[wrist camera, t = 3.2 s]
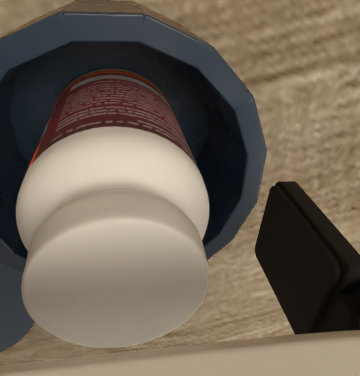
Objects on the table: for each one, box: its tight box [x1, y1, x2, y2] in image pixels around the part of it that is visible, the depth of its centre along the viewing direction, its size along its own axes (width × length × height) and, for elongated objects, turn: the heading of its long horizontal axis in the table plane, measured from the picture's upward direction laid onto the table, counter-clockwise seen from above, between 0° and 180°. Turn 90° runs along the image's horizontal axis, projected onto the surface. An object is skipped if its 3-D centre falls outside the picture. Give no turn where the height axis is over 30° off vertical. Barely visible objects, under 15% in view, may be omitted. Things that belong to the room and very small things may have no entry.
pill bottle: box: [16, 68, 210, 348], centre depth 13 cm, size 6×6×11 cm
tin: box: [0, 0, 267, 274], centre depth 15 cm, size 12×12×6 cm
